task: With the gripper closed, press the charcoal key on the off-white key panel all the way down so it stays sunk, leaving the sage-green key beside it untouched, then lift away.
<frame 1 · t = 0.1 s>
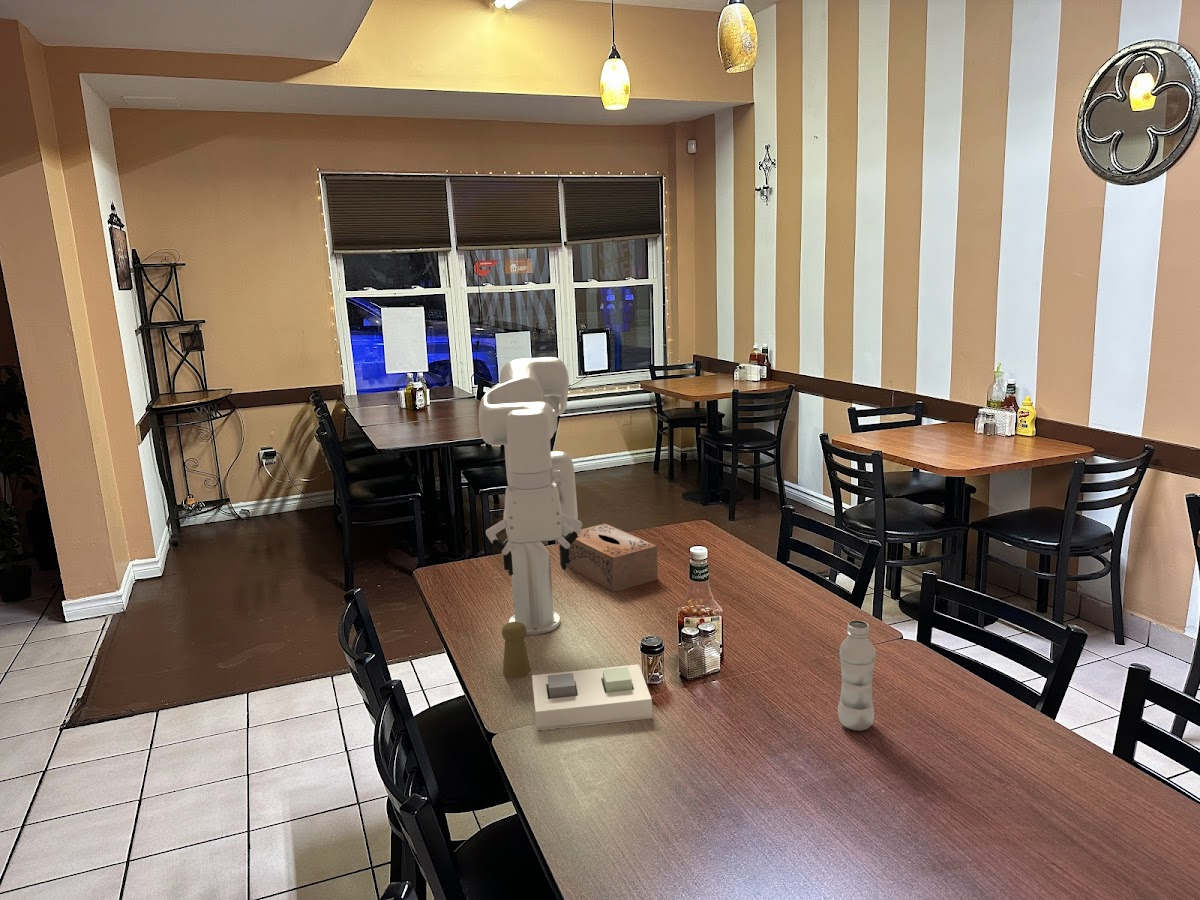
hand: (537, 570, 145), 31 cm above the table, tool pointing down, fingers open, 9 cm apart
brown pawn: (517, 672, 173), on the table
key panel: (590, 705, 158), on the table
sage key: (617, 681, 157), point 4 cm above the table, slide at 0.0 cm
tissue box cover: (610, 573, 227), on the table
charcoal key: (561, 687, 156), point 4 cm above the table, slide at 0.0 cm
plastic bottle: (855, 726, 147), on the table
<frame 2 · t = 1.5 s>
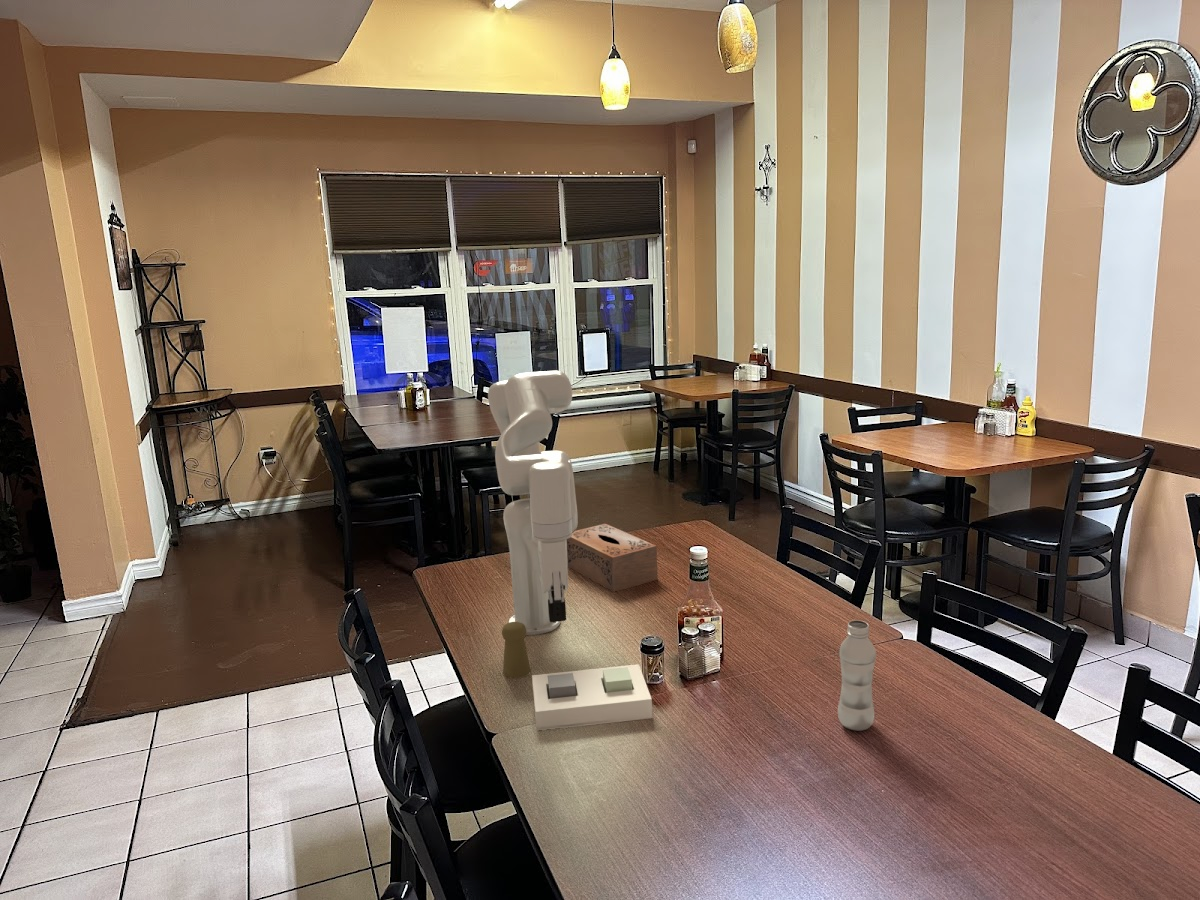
hand: (557, 619, 153), 19 cm above the table, tool pointing down, fingers closed
nothing on the table moved.
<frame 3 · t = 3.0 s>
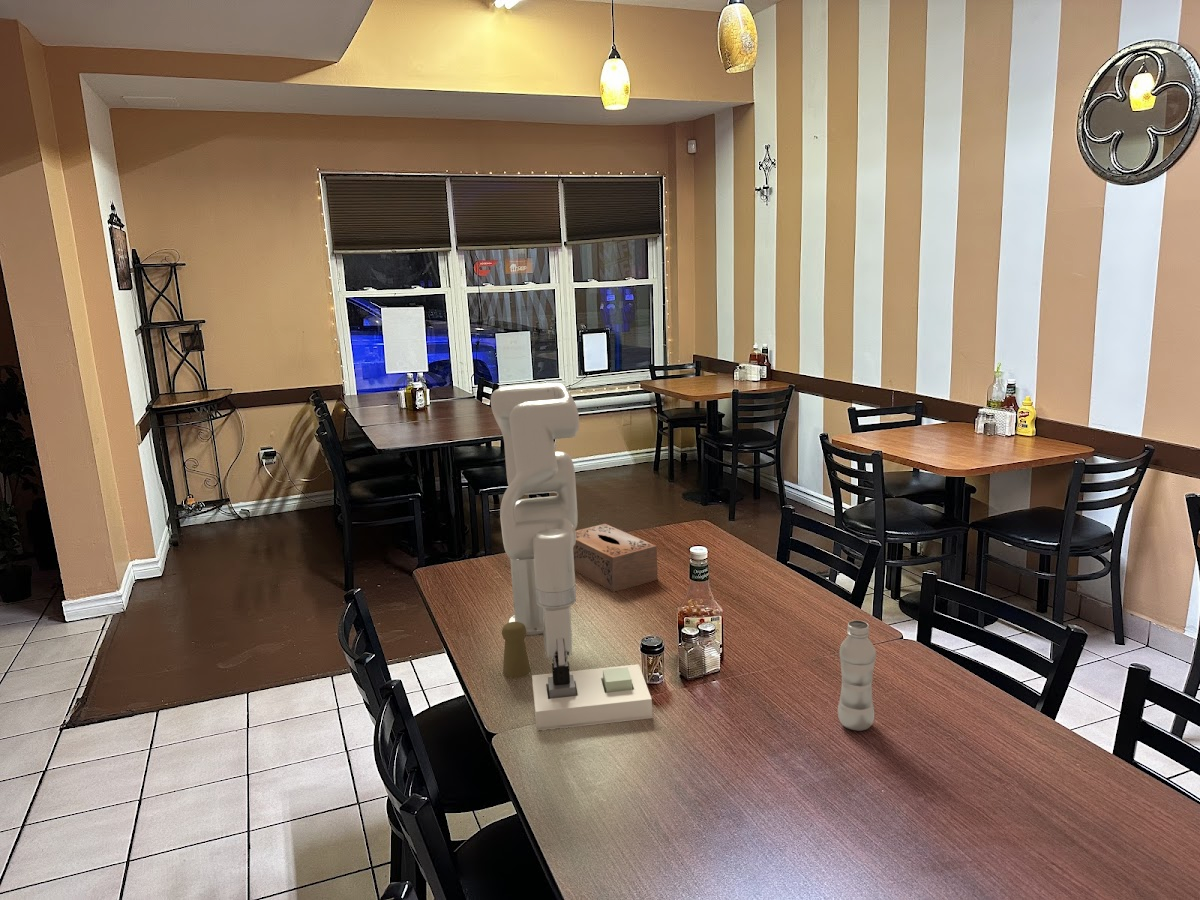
hand: (561, 682, 156), 6 cm above the table, tool pointing down, fingers closed
charcoal key: (561, 689, 156), point 4 cm above the table, slide at 0.4 cm, touching gripper
everything else where it was.
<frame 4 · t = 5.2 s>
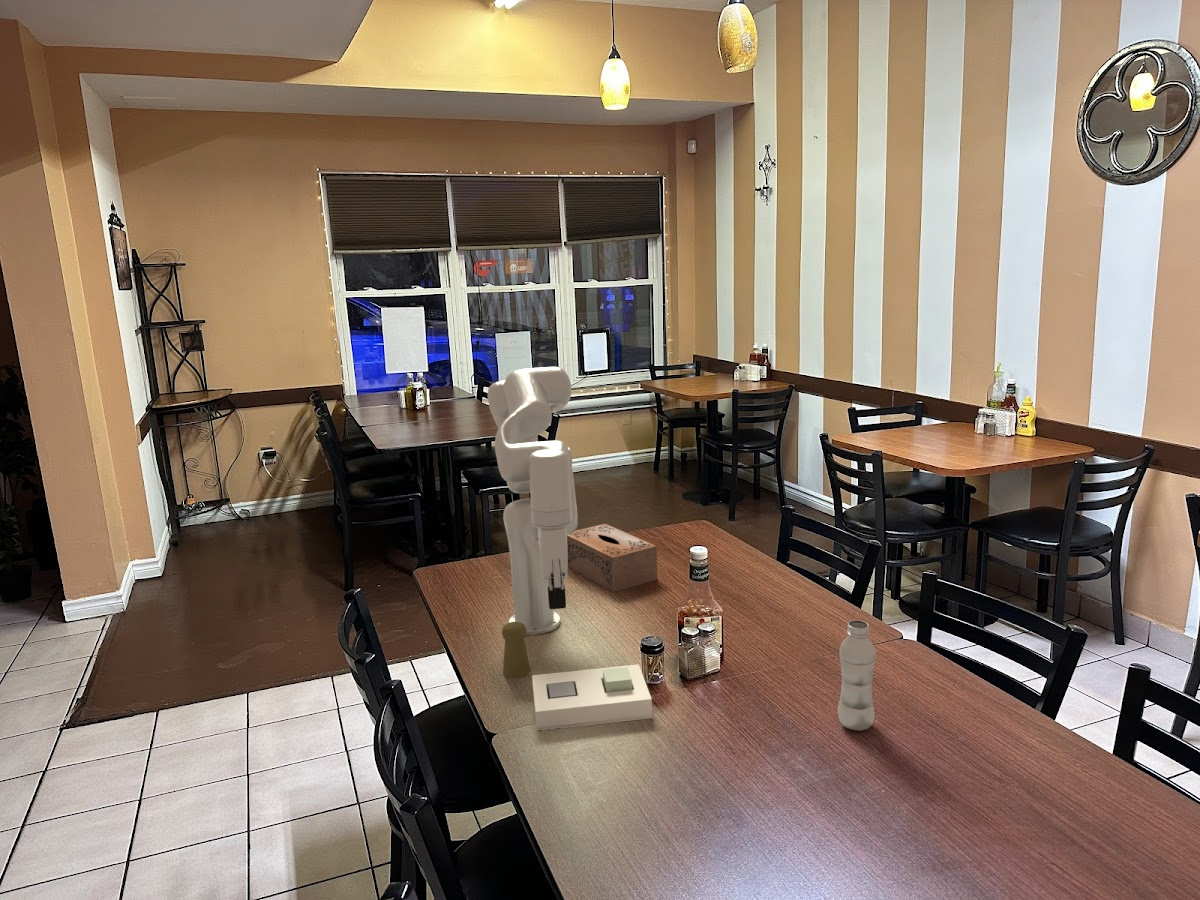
hand: (557, 606, 153), 21 cm above the table, tool pointing down, fingers closed
charcoal key: (562, 696, 157), point 3 cm above the table, slide at 1.9 cm
everything else where it was.
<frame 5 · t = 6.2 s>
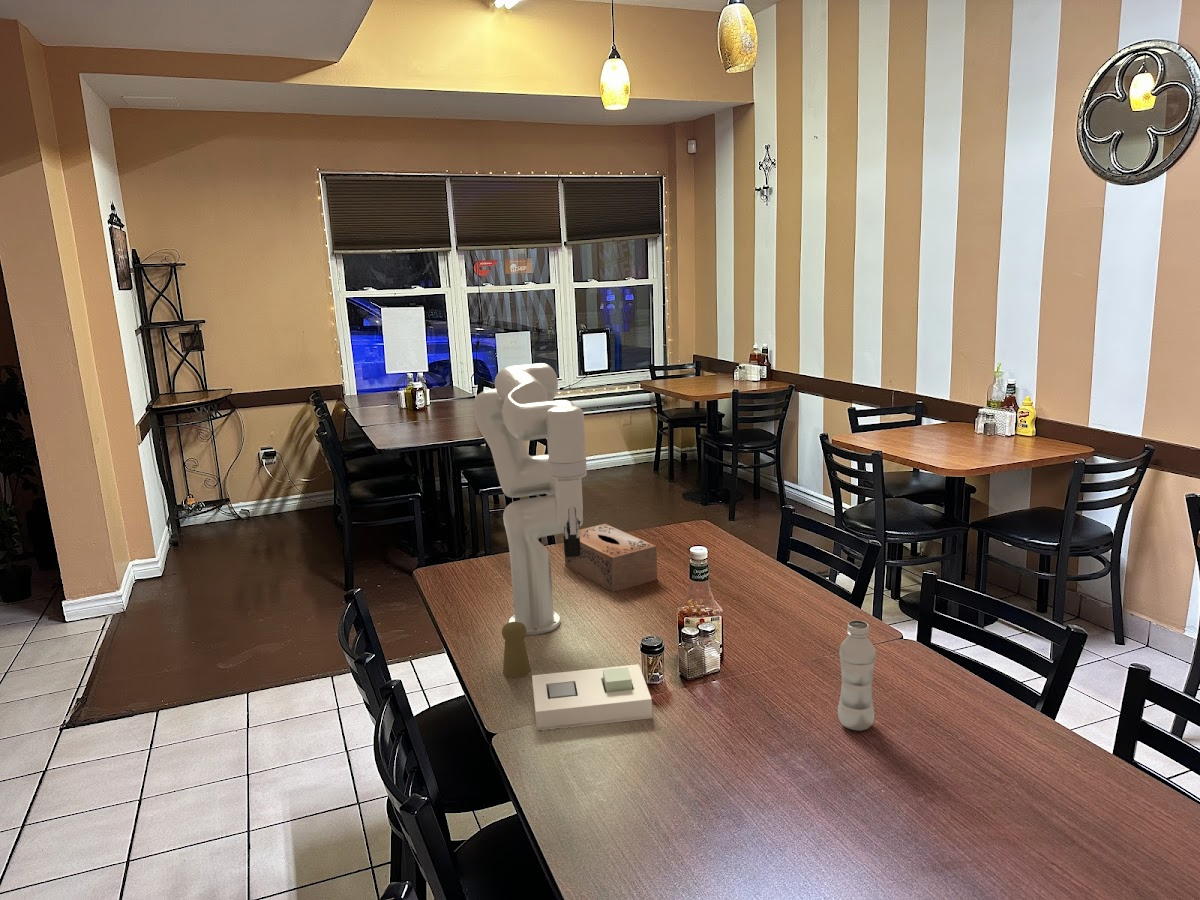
hand: (572, 555, 163), 27 cm above the table, tool pointing down, fingers closed
nothing on the table moved.
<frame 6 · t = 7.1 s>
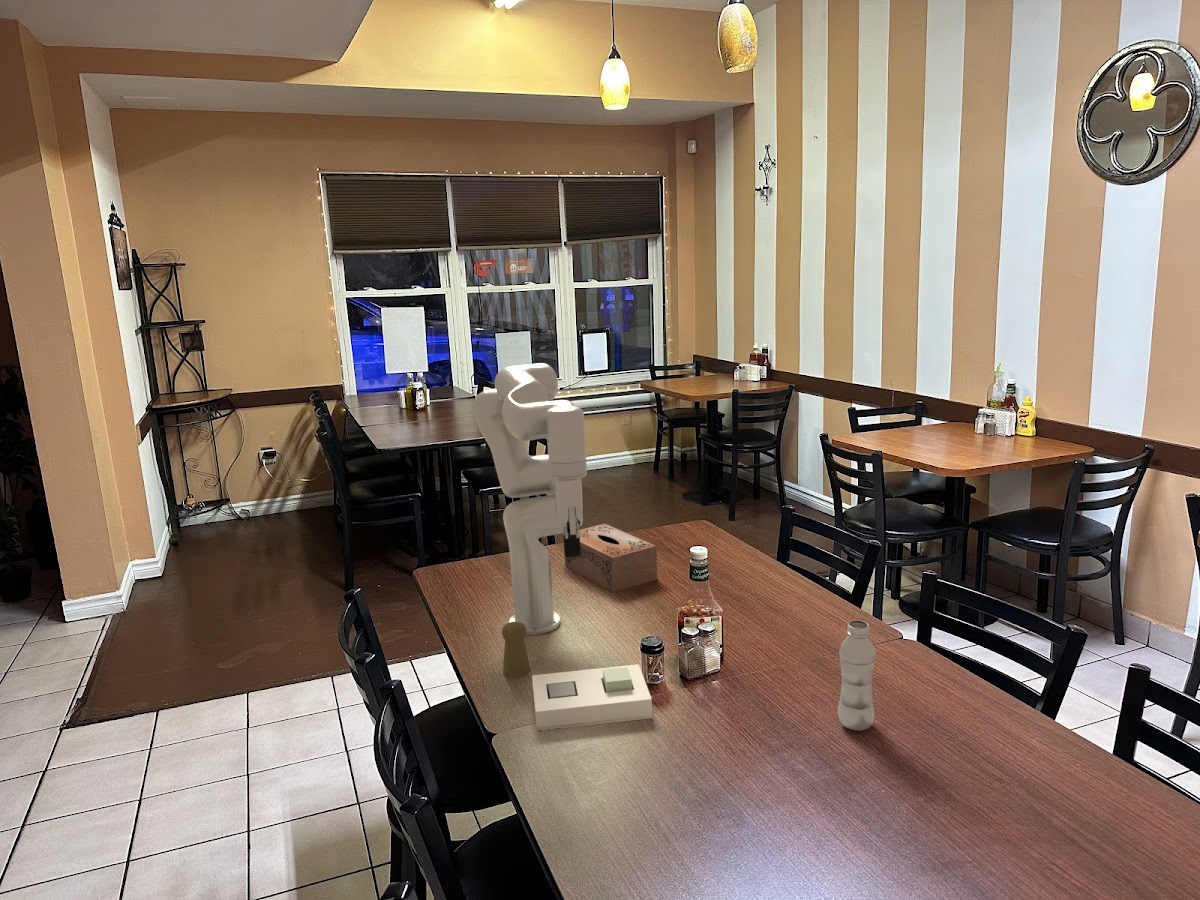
hand: (572, 555, 163), 27 cm above the table, tool pointing down, fingers closed
nothing on the table moved.
at the end: charcoal key slide at 1.9 cm; sage key slide at 0.0 cm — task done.
